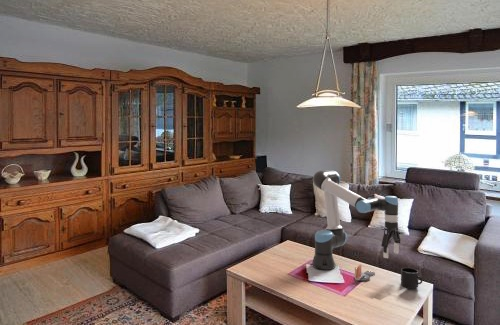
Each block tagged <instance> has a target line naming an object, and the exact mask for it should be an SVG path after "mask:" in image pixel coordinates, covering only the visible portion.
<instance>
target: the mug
mask: <svg viewBox="0 0 500 325" xmlns="http://www.w3.org/2000/svg"><path fill="white" fill-rule="evenodd" d="M419 280H420V282H419ZM421 284H423V279H422V277H421V276H419V270H418V269H416V268H411V267H403V268H401V269H400V285H401V286H402V287H404V288H407V289H418V288H419V285H421Z"/></svg>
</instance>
